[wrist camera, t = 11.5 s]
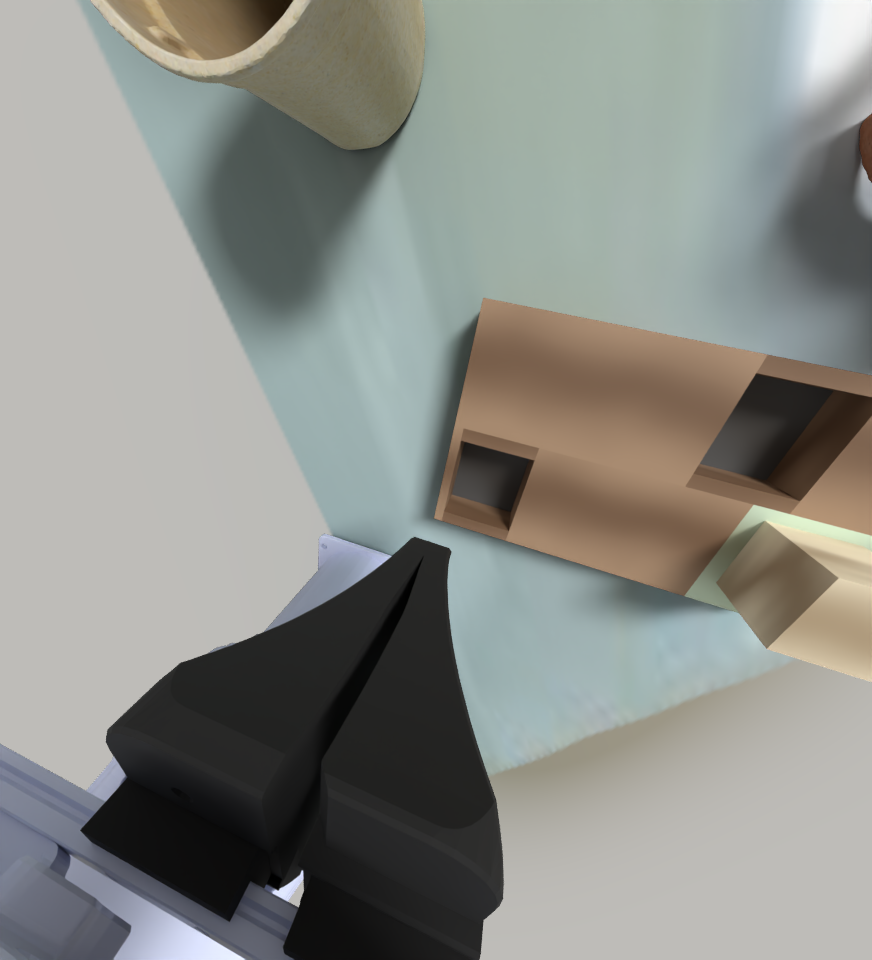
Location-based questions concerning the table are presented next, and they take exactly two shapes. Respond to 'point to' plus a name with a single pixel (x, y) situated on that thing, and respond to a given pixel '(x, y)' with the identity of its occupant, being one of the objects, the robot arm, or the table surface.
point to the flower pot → (292, 55)
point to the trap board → (651, 448)
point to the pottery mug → (866, 145)
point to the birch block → (806, 597)
